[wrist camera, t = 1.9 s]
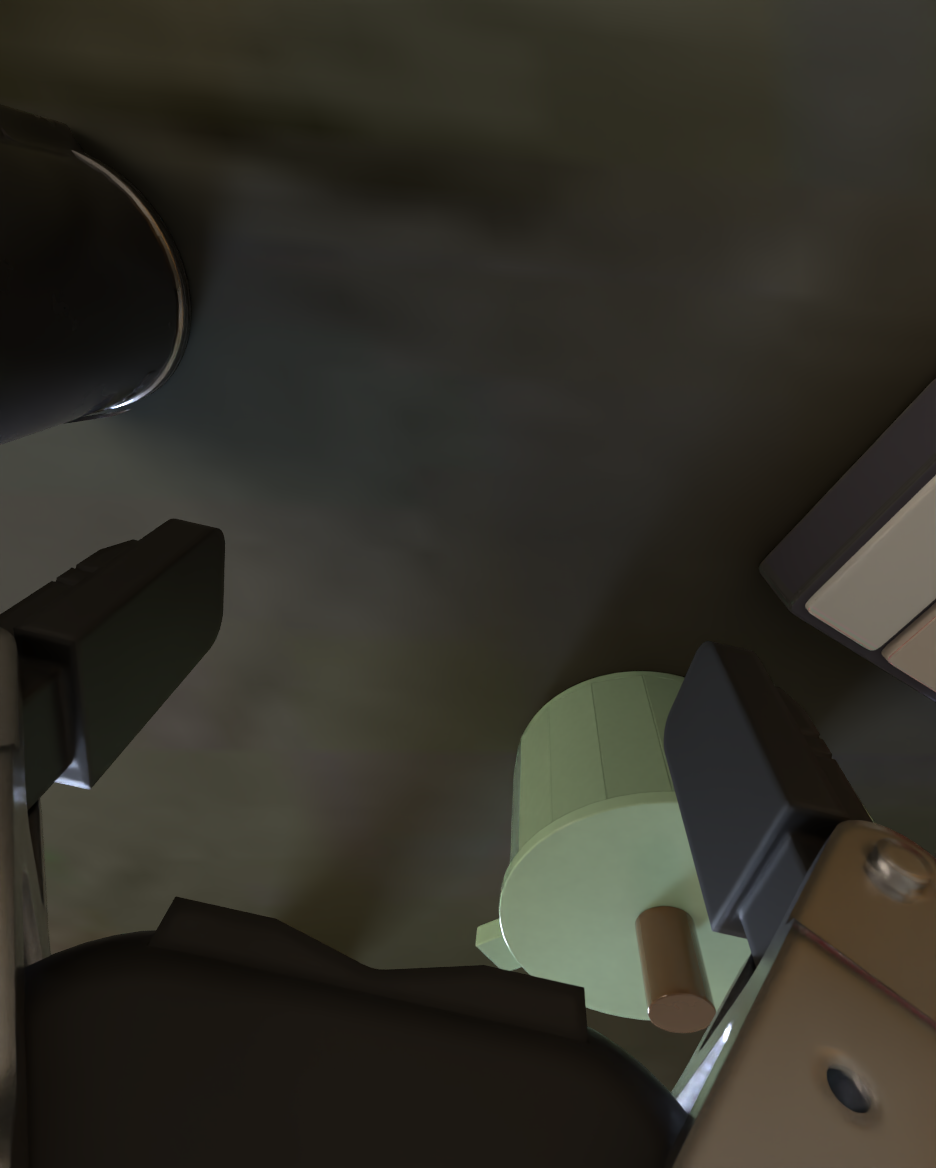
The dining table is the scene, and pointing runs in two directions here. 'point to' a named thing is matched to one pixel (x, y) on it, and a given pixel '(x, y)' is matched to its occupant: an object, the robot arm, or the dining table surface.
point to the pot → (587, 760)
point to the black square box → (873, 553)
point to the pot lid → (620, 913)
